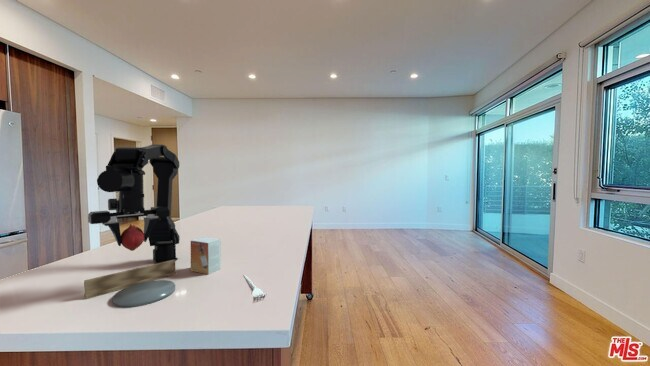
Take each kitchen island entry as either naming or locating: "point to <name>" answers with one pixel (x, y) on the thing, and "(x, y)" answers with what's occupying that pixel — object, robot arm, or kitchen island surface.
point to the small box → (205, 255)
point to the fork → (255, 289)
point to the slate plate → (143, 293)
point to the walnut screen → (127, 278)
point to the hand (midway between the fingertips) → (132, 243)
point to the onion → (132, 237)
